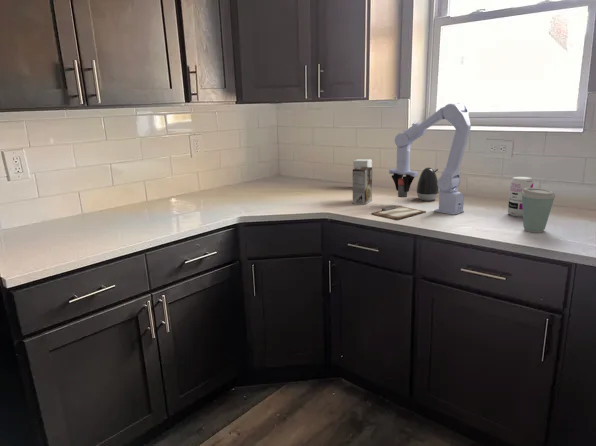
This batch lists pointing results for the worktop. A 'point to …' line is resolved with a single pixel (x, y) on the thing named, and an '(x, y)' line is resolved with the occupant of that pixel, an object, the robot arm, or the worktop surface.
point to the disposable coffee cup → (536, 208)
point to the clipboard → (398, 212)
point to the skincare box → (362, 163)
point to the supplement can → (518, 194)
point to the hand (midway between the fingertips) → (402, 191)
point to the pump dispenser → (427, 185)
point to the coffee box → (362, 185)
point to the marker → (401, 188)
